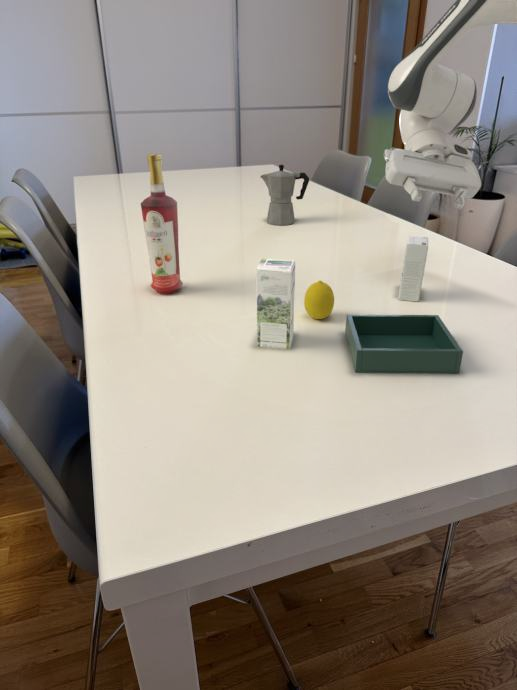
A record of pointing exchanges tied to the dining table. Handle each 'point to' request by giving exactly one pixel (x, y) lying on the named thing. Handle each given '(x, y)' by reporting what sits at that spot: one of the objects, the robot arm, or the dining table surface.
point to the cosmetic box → (413, 268)
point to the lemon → (319, 300)
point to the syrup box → (275, 303)
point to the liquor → (161, 232)
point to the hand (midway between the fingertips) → (438, 202)
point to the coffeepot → (282, 195)
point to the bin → (402, 344)
